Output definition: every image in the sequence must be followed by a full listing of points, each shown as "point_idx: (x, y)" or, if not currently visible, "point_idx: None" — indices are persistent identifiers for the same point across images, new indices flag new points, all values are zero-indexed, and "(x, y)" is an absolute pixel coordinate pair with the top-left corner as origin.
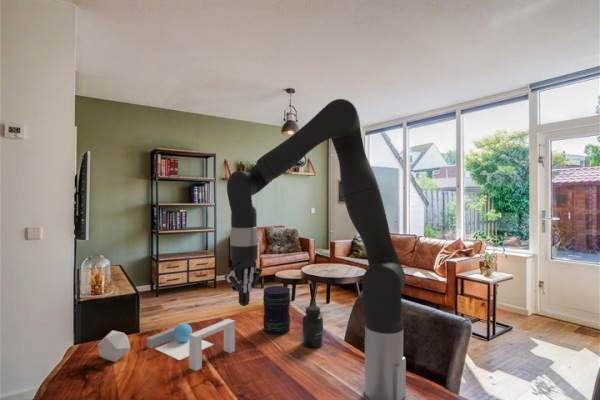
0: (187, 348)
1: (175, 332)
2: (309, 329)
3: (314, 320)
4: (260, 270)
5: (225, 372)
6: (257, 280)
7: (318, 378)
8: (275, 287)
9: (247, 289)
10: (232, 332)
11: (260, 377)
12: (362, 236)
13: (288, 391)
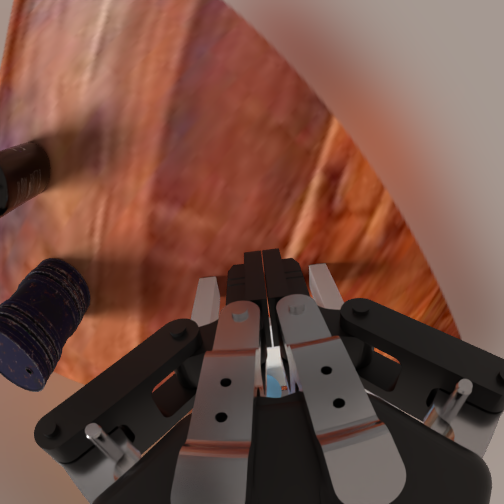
0: (274, 351)
1: (280, 396)
2: (17, 166)
3: None
4: (53, 431)
5: (285, 208)
6: (120, 361)
7: (138, 20)
8: (10, 374)
9: (260, 316)
10: (202, 309)
11: (238, 121)
12: None
13: (234, 26)
